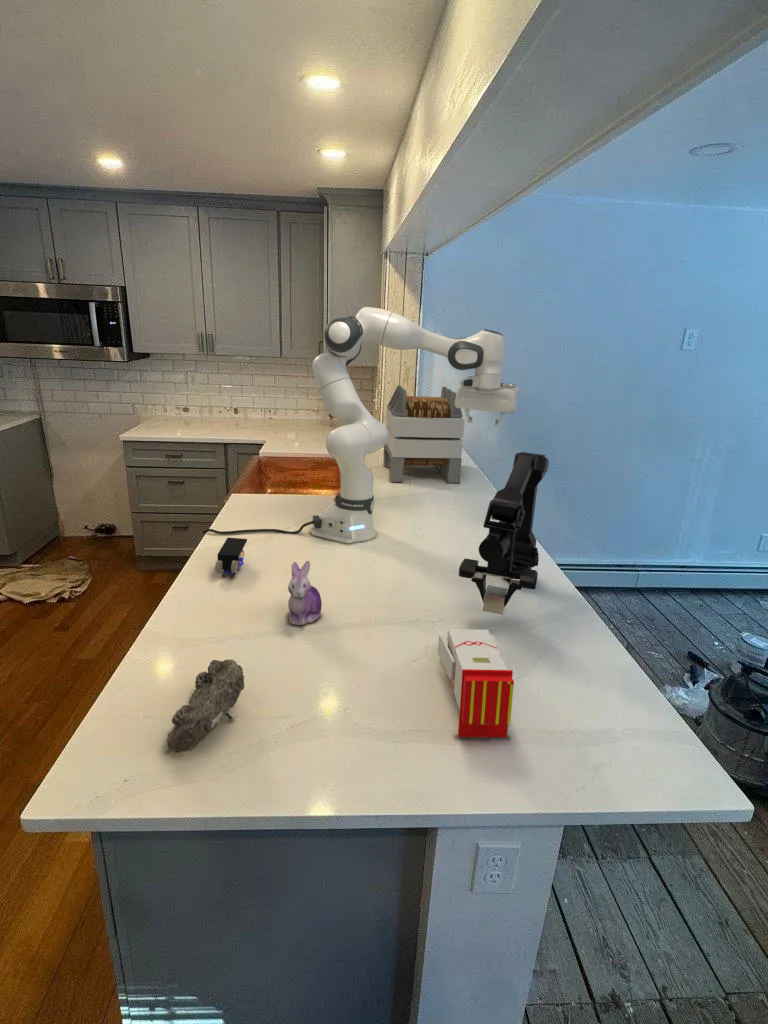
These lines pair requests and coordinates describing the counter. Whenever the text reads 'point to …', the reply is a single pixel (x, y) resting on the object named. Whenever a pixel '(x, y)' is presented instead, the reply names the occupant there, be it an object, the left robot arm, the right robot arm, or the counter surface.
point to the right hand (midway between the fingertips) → (494, 603)
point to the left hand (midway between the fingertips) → (483, 423)
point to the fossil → (206, 705)
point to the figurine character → (230, 556)
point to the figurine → (303, 597)
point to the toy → (478, 682)
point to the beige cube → (494, 599)
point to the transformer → (424, 434)
